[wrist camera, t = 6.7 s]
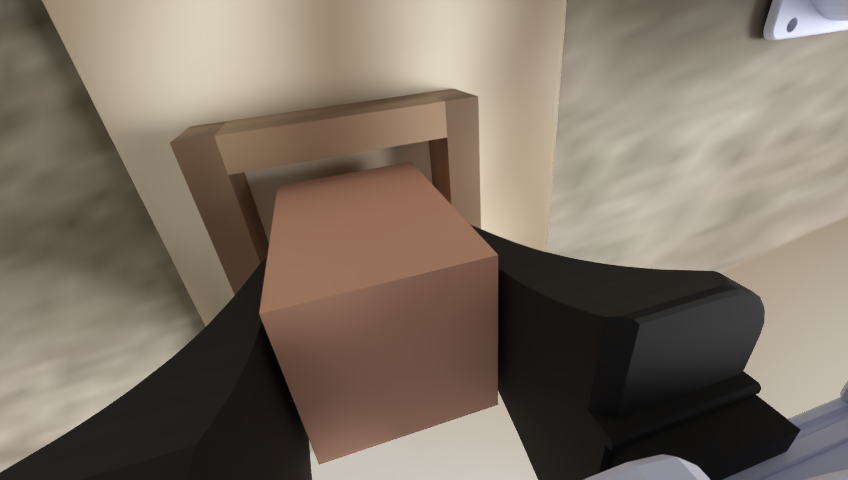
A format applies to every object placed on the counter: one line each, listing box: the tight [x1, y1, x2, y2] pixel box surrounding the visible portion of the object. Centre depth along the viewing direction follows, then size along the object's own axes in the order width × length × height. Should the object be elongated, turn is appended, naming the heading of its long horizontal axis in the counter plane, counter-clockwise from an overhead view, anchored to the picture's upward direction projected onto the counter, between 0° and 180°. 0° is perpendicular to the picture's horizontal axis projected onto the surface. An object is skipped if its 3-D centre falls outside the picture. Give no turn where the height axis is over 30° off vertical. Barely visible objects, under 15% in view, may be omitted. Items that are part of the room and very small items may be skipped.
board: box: [42, 0, 567, 327], centre depth 11 cm, size 14×20×3 cm
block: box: [259, 162, 498, 464], centre depth 10 cm, size 4×4×6 cm
